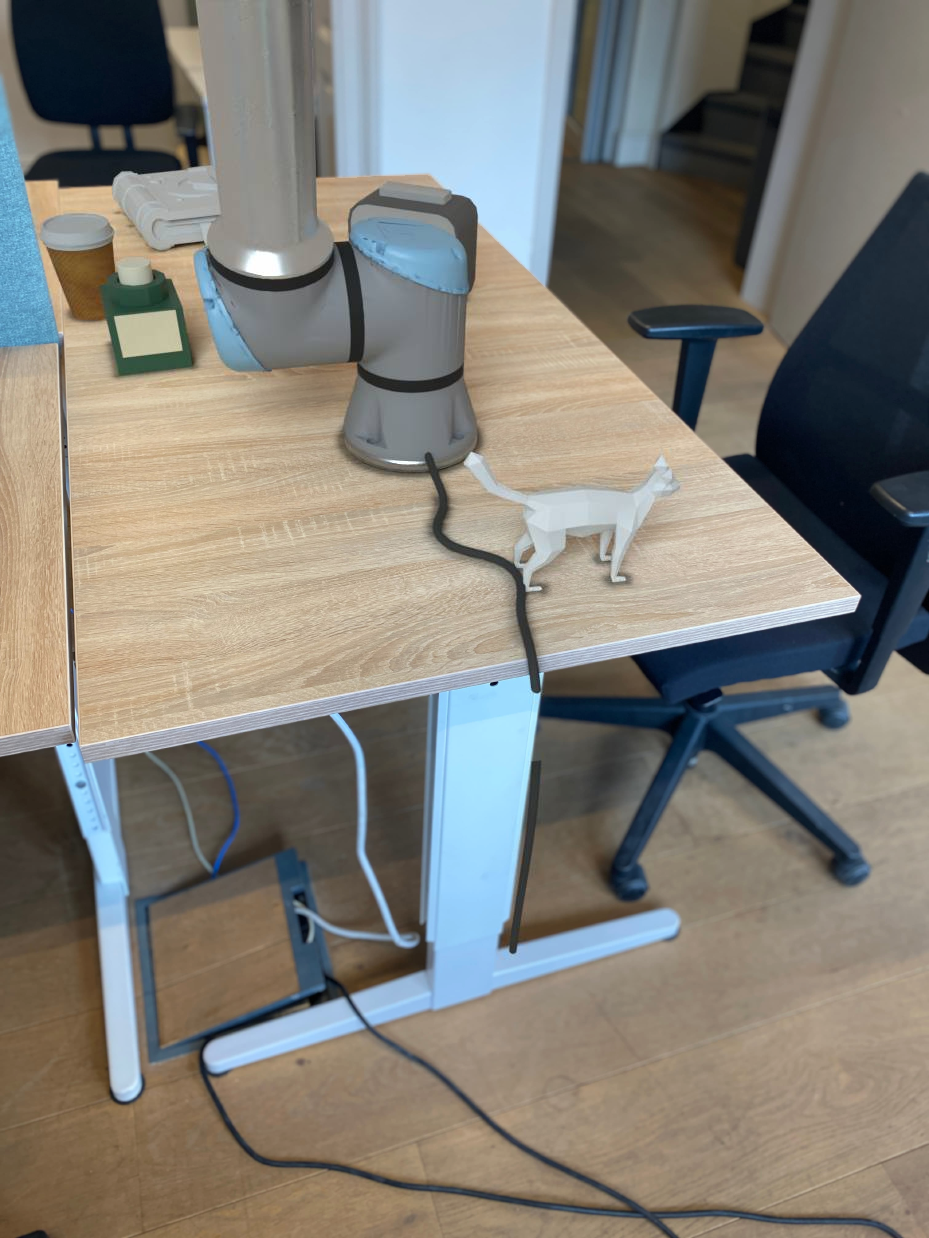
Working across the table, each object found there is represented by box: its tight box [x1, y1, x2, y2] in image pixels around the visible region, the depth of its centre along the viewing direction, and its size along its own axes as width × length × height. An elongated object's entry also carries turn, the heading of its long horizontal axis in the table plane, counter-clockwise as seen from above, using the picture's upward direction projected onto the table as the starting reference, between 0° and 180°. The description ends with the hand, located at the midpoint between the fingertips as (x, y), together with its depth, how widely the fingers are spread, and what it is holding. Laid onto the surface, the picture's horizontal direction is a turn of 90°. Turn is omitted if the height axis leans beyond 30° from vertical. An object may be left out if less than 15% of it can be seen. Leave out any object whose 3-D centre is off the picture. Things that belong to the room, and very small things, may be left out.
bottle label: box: [114, 310, 183, 358], centre depth 111 cm, size 1×7×5 cm, turn 112°
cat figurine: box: [463, 451, 682, 593], centre depth 81 cm, size 4×20×14 cm, turn 102°
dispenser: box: [99, 268, 193, 377], centre depth 114 cm, size 10×9×10 cm
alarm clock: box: [347, 180, 479, 296], centre depth 131 cm, size 16×11×16 cm
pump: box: [115, 256, 154, 286], centre depth 111 cm, size 4×4×2 cm
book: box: [111, 165, 221, 252], centre depth 153 cm, size 19×28×8 cm
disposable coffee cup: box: [38, 212, 116, 321], centre depth 123 cm, size 10×10×12 cm
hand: (224, 71), depth 108 cm, fingers closed
